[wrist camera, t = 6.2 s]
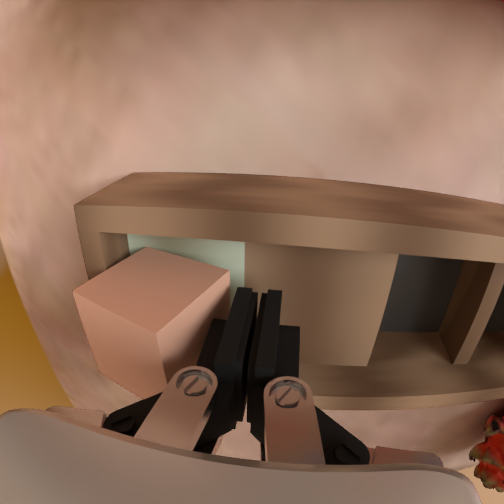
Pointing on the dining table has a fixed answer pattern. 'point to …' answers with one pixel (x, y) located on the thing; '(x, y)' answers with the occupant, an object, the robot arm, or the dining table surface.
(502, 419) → the dragon fruit
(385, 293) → the box
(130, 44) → the dining table surface
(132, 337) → the terracotta block
